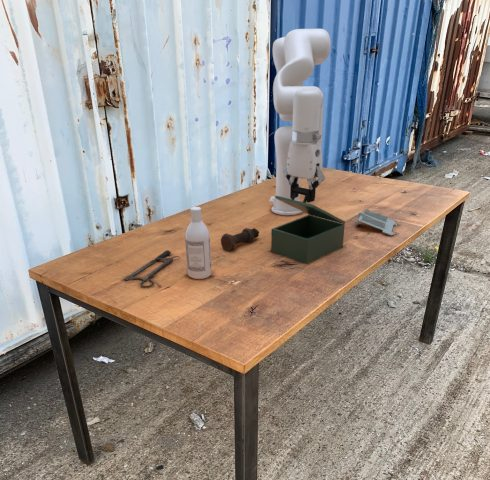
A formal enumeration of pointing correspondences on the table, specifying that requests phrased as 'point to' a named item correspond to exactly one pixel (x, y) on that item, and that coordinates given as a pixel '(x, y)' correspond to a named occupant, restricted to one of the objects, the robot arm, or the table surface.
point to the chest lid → (308, 206)
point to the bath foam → (198, 246)
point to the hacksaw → (154, 270)
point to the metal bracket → (376, 221)
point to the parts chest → (307, 238)
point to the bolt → (238, 238)
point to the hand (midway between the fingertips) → (302, 199)
